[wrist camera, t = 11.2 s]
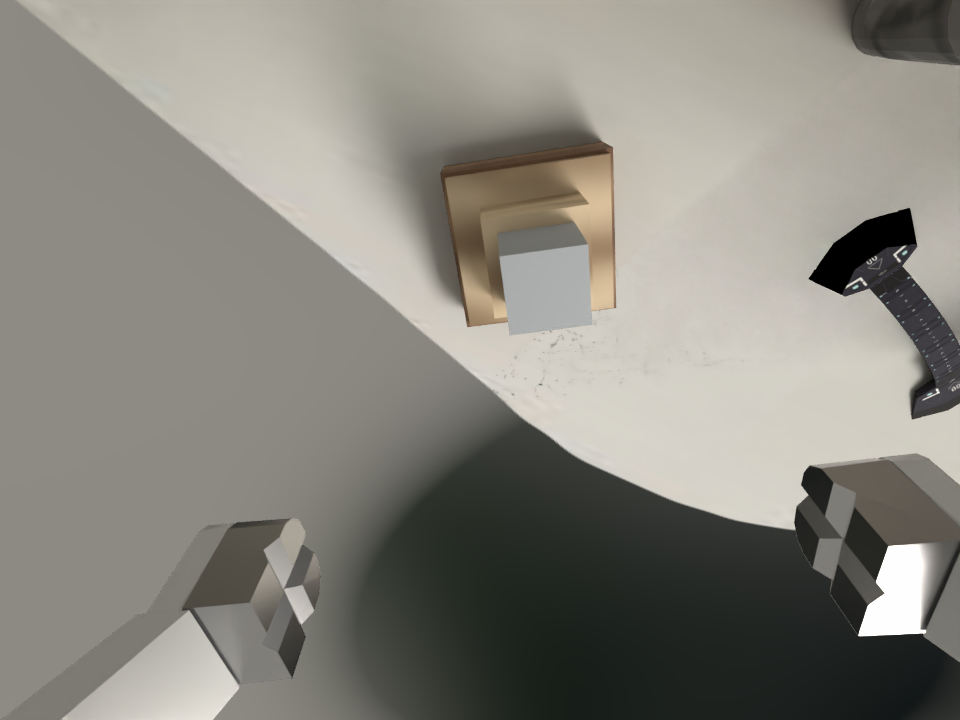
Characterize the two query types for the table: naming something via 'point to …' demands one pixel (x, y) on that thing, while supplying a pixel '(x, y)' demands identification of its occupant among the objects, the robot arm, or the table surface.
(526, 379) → the table surface
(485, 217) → the oak block
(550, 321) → the grey cube
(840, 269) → the black long flat piece
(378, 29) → the table surface
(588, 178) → the plinth
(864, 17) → the beverage cup
